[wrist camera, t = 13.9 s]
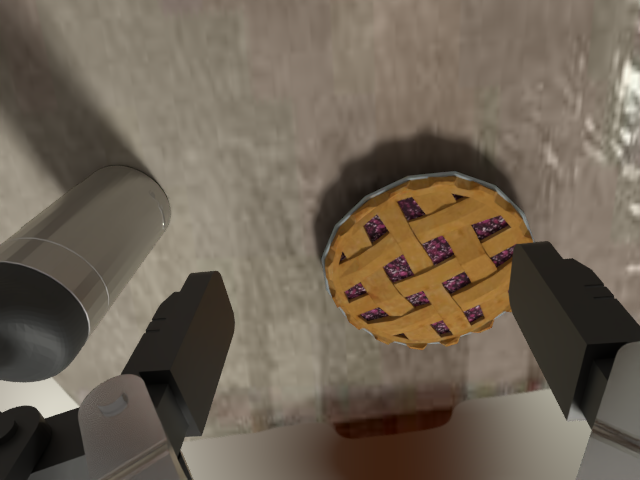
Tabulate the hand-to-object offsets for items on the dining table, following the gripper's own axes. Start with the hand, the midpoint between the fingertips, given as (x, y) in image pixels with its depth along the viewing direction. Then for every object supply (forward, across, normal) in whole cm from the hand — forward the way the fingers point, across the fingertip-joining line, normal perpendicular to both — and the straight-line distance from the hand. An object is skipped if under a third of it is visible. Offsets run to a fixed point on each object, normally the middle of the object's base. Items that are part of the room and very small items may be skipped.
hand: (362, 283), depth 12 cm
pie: (+31, -6, +20) cm, 37 cm away
